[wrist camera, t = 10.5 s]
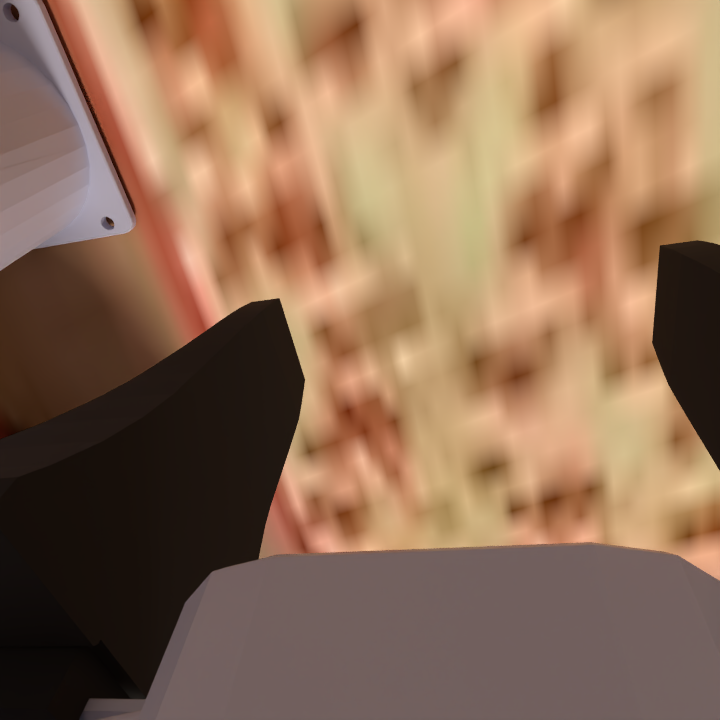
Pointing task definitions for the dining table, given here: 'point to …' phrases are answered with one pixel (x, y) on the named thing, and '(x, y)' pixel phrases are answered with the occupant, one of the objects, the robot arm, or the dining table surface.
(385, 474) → the dining table surface
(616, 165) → the dining table surface
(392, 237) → the dining table surface
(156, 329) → the dining table surface
